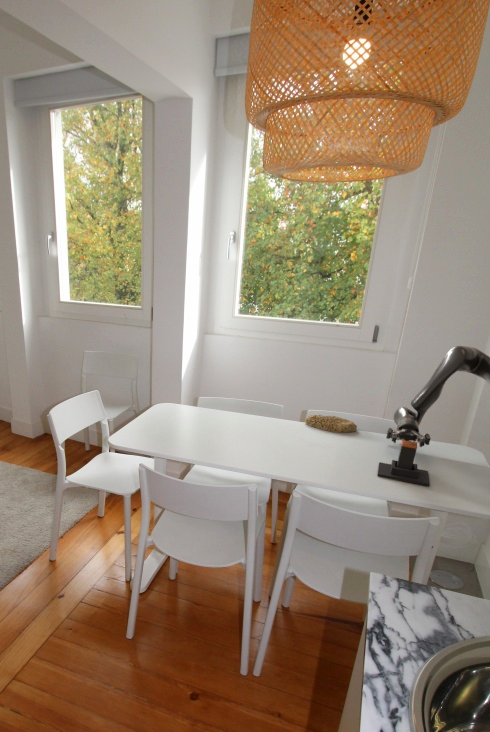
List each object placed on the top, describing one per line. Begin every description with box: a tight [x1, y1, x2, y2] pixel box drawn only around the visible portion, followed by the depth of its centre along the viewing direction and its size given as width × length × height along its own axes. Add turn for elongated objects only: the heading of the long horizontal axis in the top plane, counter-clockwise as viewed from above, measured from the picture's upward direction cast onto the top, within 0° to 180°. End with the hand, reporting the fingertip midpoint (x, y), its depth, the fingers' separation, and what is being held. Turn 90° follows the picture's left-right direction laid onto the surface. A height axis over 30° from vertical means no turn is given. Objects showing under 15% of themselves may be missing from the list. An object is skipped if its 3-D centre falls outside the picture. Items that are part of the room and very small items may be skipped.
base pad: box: [377, 459, 430, 487], centre depth 166 cm, size 16×12×4 cm
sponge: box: [305, 414, 358, 433], centre depth 207 cm, size 13×8×20 cm
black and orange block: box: [396, 440, 418, 470], centre depth 164 cm, size 5×5×11 cm
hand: (408, 442), depth 170 cm, fingers open, 8 cm apart
